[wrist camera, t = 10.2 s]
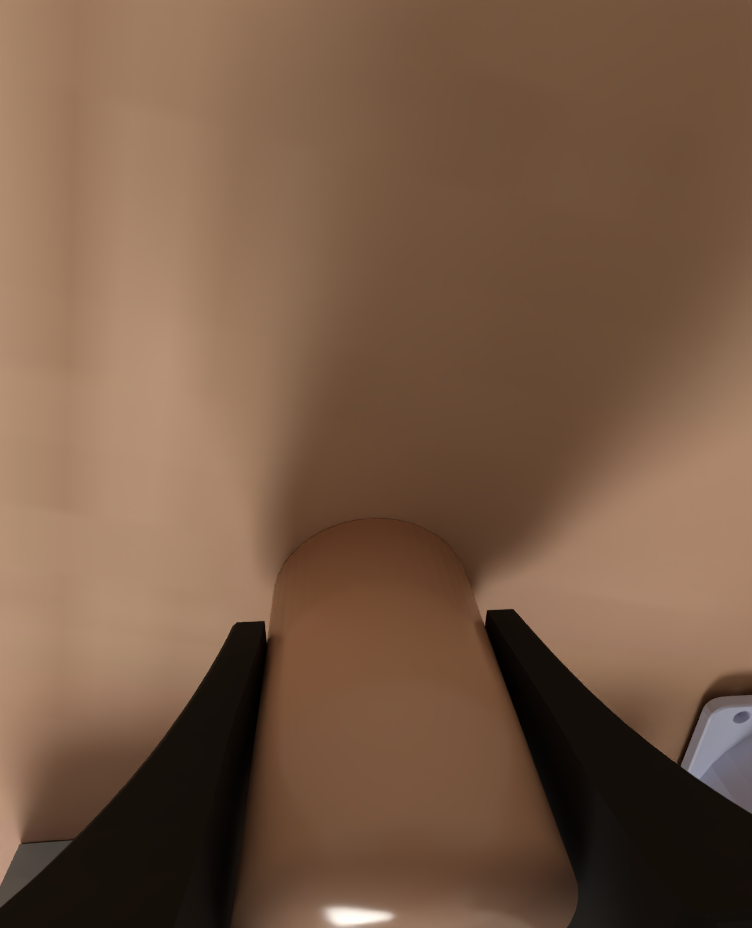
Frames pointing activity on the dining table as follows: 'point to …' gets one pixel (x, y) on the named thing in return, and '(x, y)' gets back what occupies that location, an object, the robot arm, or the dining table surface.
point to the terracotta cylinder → (391, 753)
